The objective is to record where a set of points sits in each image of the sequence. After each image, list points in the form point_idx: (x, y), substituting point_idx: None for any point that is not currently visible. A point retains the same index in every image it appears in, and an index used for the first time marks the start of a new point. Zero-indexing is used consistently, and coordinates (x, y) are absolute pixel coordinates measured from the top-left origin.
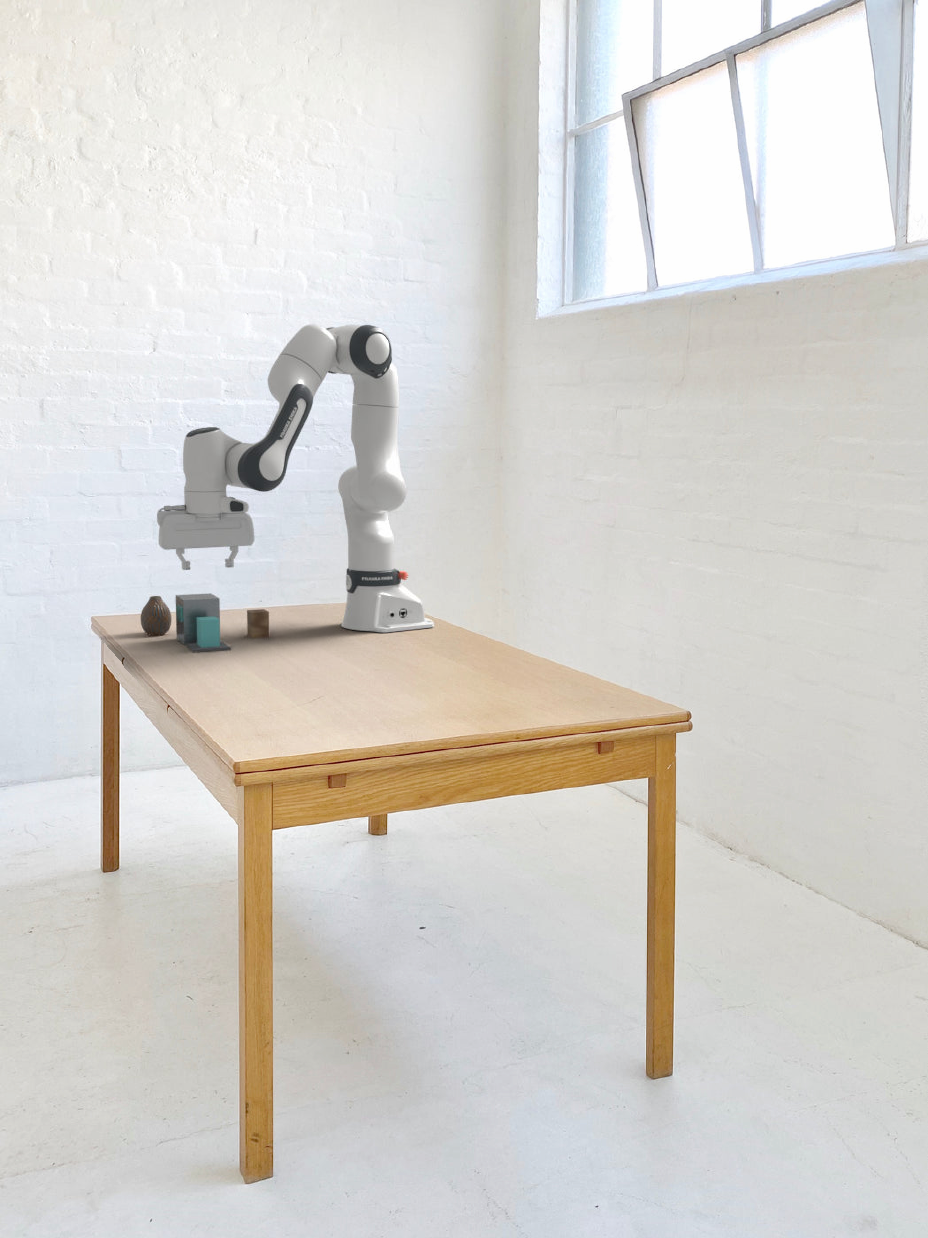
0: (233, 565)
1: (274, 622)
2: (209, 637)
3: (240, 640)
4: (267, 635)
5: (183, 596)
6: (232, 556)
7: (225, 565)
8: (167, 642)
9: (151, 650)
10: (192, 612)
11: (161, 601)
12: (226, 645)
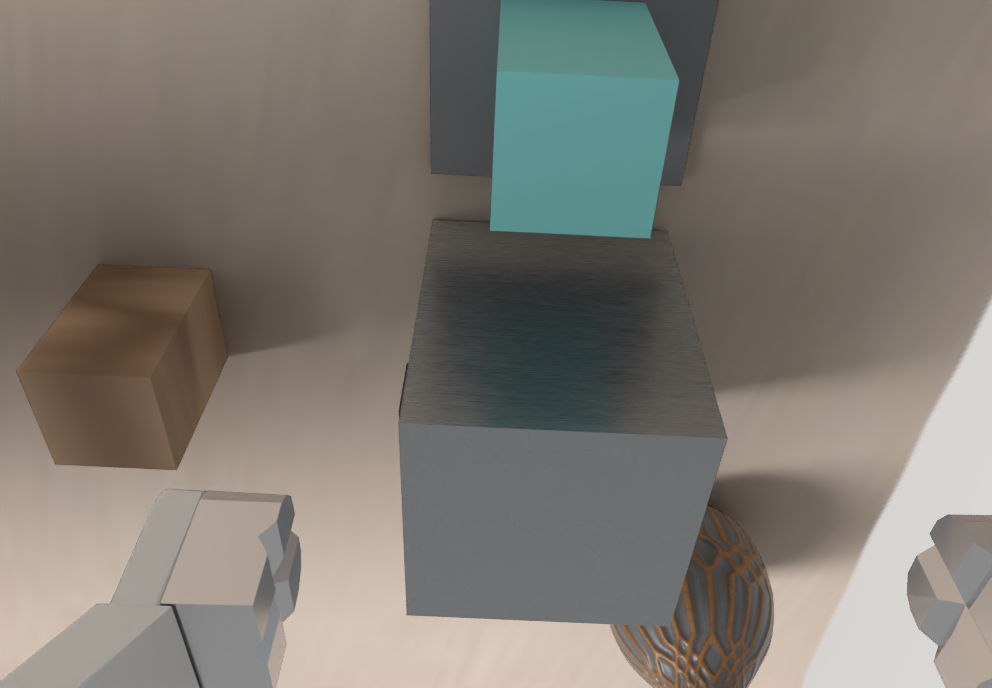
0: (160, 499)
1: (56, 578)
2: (586, 23)
3: (292, 240)
4: (103, 271)
5: (643, 572)
6: (108, 654)
7: (296, 576)
8: (721, 336)
9: (936, 144)
10: (635, 361)
11: (681, 671)
12: (442, 14)
